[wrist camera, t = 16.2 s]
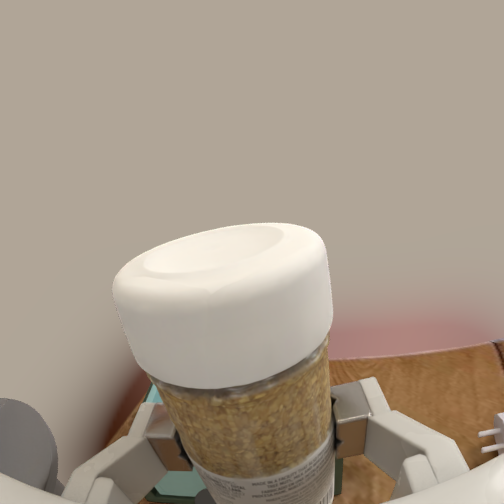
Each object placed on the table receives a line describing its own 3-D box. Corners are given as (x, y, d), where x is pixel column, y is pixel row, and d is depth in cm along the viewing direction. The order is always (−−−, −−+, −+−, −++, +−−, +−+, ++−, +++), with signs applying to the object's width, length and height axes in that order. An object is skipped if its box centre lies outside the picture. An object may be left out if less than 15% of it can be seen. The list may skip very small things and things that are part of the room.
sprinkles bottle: (308, 475, 13) (272, 209, 9) (351, 536, 9) (375, 238, 5) (224, 505, 12) (115, 249, 8) (254, 575, 8) (88, 319, 4)
